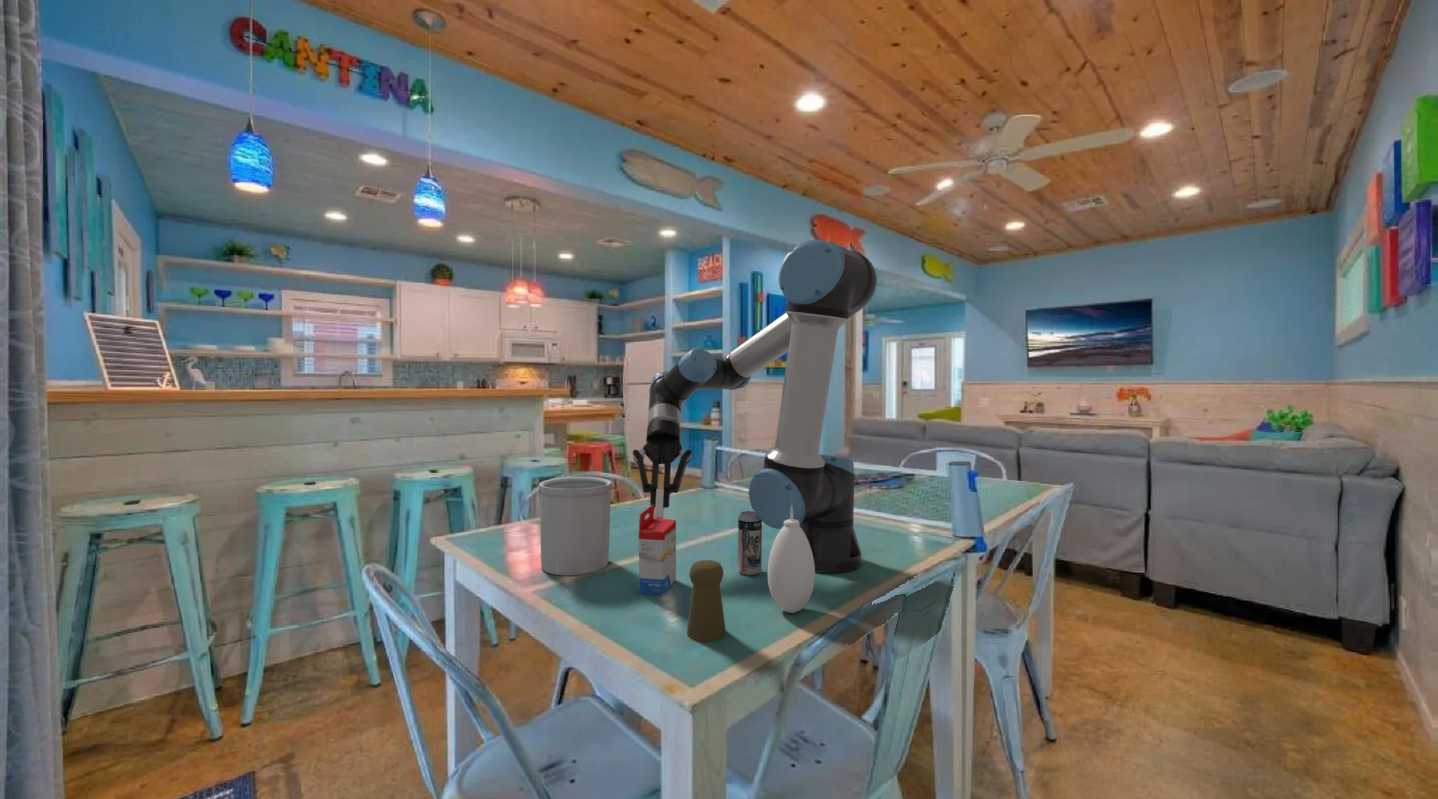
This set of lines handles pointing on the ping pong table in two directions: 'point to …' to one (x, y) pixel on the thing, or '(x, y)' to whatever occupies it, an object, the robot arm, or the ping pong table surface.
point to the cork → (706, 602)
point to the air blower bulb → (791, 567)
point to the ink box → (656, 553)
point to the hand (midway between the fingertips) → (658, 520)
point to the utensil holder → (574, 524)
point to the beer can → (749, 543)
